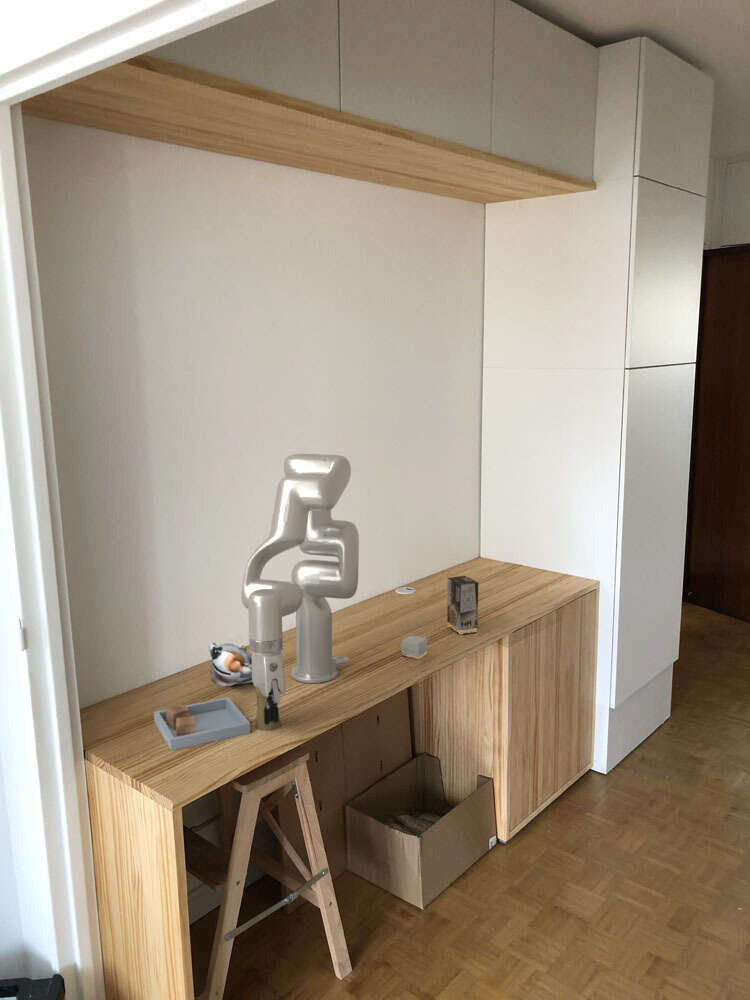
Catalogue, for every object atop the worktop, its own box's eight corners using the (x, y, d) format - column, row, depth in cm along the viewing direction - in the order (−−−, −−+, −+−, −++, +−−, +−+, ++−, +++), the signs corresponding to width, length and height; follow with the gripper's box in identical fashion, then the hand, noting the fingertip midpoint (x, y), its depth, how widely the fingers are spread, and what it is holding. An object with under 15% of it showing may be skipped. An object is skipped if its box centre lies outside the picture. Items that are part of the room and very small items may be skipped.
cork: (268, 719, 197) (267, 675, 195) (286, 726, 193) (285, 682, 191) (249, 728, 192) (248, 683, 190) (267, 735, 188) (266, 690, 186)
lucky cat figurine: (272, 677, 221) (268, 642, 212) (241, 707, 214) (236, 673, 205) (230, 651, 228) (225, 617, 219) (199, 680, 220) (192, 645, 211)
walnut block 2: (195, 732, 188) (194, 716, 188) (195, 740, 185) (194, 724, 184) (177, 734, 188) (176, 717, 187) (176, 742, 184) (176, 725, 183)
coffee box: (478, 633, 255) (479, 582, 252) (459, 635, 253) (460, 584, 250) (464, 623, 264) (465, 574, 261) (446, 626, 261) (447, 576, 258)
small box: (428, 654, 238) (428, 638, 237) (418, 660, 233) (418, 644, 232) (411, 650, 241) (411, 634, 240) (400, 656, 236) (400, 640, 235)
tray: (228, 708, 202) (228, 696, 202) (250, 735, 188) (249, 723, 188) (154, 723, 194) (153, 711, 194) (171, 753, 180) (170, 740, 180)
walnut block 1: (182, 719, 195) (182, 703, 194) (190, 725, 192) (189, 709, 191) (166, 724, 193) (165, 708, 192) (173, 730, 189) (173, 714, 189)
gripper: (295, 652, 183) (296, 730, 186) (268, 630, 198) (270, 702, 201) (262, 658, 180) (264, 737, 183) (238, 635, 194) (240, 708, 198)
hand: (267, 718), depth 192 cm, fingers closed on cork, 3 cm apart
